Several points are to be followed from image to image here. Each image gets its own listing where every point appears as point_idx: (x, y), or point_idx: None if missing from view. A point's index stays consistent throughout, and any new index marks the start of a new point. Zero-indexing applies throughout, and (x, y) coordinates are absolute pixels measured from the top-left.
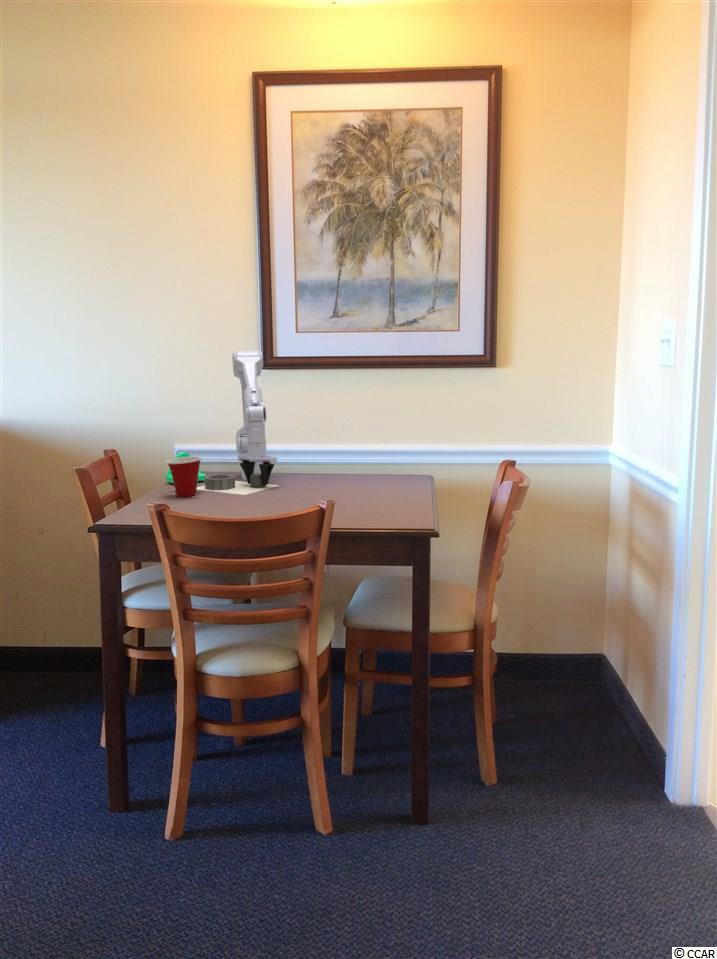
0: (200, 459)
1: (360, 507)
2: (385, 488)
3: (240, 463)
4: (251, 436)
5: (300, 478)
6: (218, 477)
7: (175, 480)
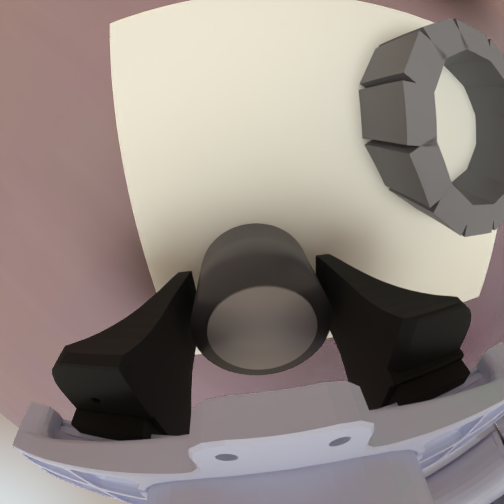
0: None
1: None
2: (21, 411)
3: (464, 308)
4: None
5: None
6: (501, 178)
7: None
